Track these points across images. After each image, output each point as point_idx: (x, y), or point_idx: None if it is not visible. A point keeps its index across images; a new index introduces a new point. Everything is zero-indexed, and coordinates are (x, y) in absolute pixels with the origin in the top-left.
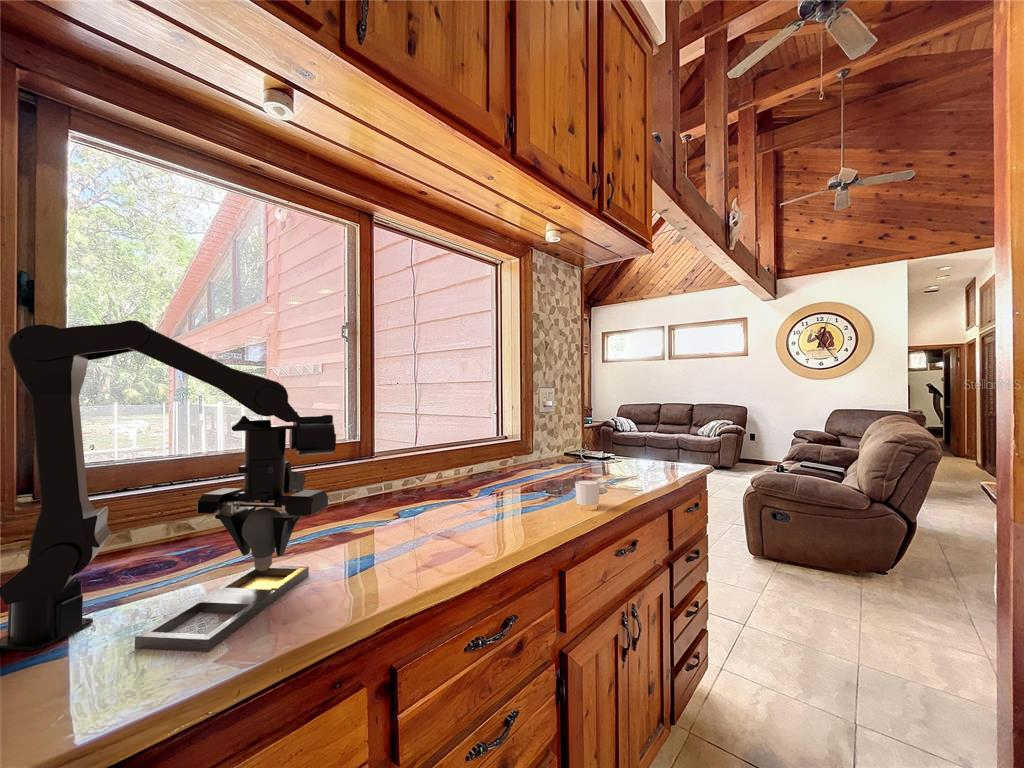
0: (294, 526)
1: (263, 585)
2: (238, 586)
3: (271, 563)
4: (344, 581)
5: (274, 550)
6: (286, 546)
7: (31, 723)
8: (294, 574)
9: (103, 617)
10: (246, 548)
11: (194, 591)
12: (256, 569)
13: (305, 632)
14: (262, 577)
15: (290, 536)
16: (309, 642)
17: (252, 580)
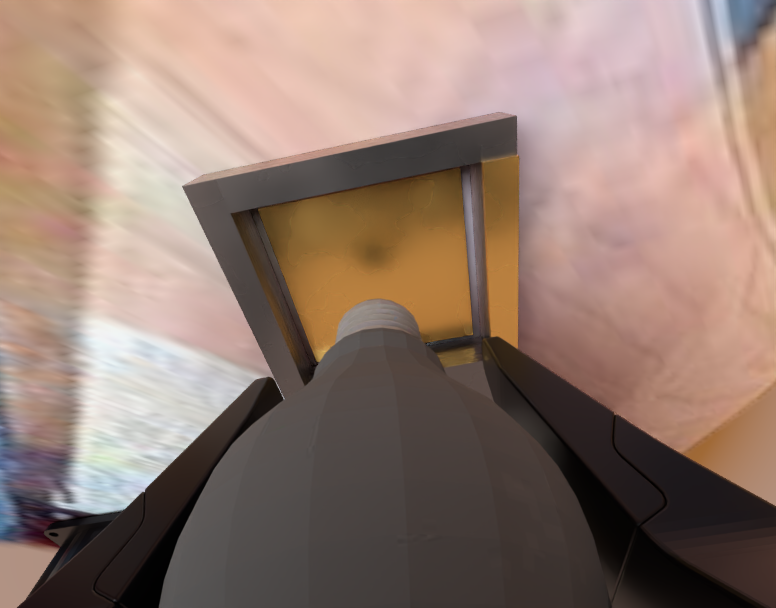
0: (695, 469)
1: (371, 275)
2: (286, 313)
3: (416, 323)
4: (724, 122)
5: (440, 363)
6: (530, 359)
7: None
8: (509, 245)
9: (130, 490)
10: None
11: (159, 361)
12: (235, 218)
13: (678, 420)
14: (293, 216)
15: (591, 399)
16: (701, 440)
17: (279, 252)
